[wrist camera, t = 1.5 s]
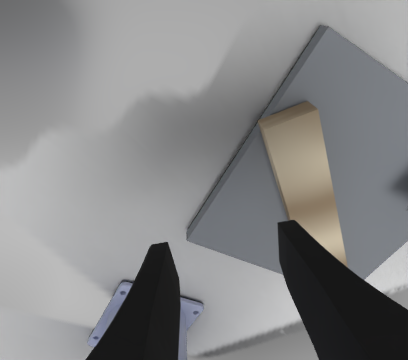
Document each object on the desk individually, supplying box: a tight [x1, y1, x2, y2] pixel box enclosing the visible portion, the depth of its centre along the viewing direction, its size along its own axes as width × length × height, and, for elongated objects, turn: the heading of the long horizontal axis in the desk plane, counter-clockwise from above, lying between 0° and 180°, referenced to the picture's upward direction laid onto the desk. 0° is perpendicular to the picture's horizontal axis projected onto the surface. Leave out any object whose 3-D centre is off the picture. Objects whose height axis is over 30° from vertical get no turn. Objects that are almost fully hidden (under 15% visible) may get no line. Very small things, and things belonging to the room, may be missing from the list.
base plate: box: [187, 25, 408, 280], centre depth 21 cm, size 16×16×1 cm
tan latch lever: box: [258, 101, 348, 267], centre depth 20 cm, size 16×4×3 cm, turn 21°
